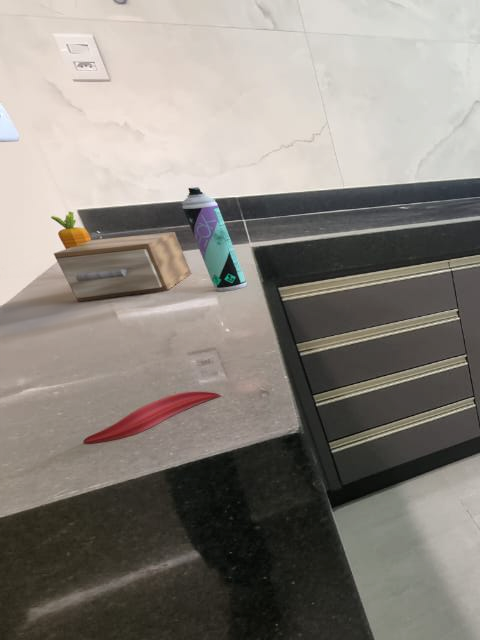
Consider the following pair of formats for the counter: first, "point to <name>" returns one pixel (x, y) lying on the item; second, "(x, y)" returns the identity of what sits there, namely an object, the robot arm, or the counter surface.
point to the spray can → (213, 241)
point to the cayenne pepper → (151, 415)
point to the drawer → (110, 272)
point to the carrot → (71, 232)
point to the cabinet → (158, 246)
